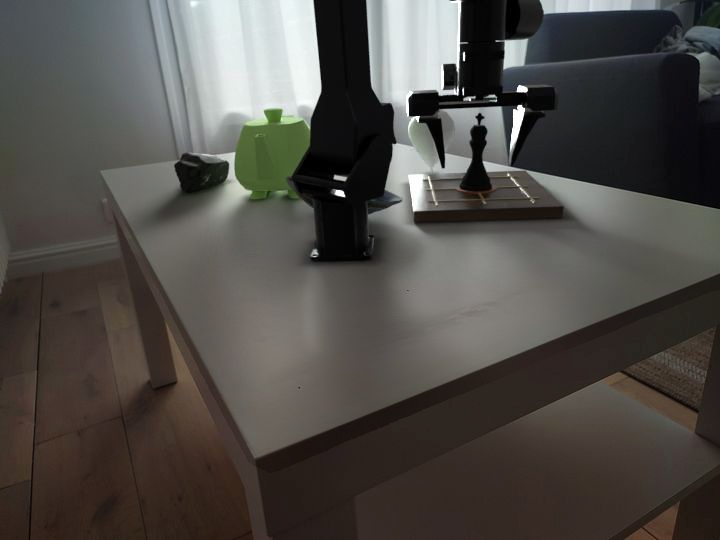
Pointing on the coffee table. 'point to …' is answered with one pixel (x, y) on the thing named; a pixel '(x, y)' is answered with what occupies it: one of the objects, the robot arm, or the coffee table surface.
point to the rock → (200, 171)
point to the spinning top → (430, 138)
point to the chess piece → (477, 160)
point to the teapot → (270, 152)
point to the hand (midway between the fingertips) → (477, 166)
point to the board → (481, 198)
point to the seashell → (373, 204)
